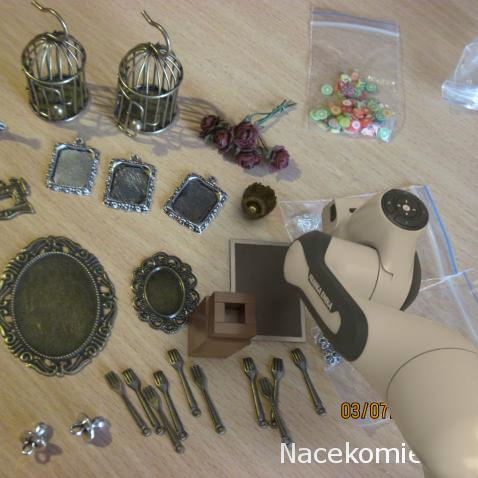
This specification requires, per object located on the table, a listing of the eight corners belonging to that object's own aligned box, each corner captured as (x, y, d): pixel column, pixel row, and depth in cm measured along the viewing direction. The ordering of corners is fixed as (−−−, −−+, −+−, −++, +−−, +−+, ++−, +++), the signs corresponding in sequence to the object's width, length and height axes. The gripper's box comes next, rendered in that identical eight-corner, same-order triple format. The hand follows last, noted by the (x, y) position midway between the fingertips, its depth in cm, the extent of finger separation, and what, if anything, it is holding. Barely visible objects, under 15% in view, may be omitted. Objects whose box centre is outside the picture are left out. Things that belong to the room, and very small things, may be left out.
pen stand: (226, 358, 113) (259, 338, 90) (187, 356, 112) (211, 336, 89) (225, 320, 116) (258, 290, 92) (188, 318, 115) (211, 287, 92)
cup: (271, 205, 126) (282, 190, 118) (260, 232, 123) (270, 219, 116) (241, 192, 126) (250, 176, 119) (229, 218, 124) (238, 204, 116)
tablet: (305, 343, 116) (307, 342, 115) (230, 339, 115) (231, 338, 114) (299, 244, 123) (301, 242, 122) (229, 239, 122) (230, 238, 121)
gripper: (381, 309, 87) (344, 326, 100) (368, 191, 94) (335, 221, 107) (342, 306, 87) (311, 324, 100) (332, 189, 94) (304, 219, 107)
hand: (323, 270), depth 104 cm, fingers closed
